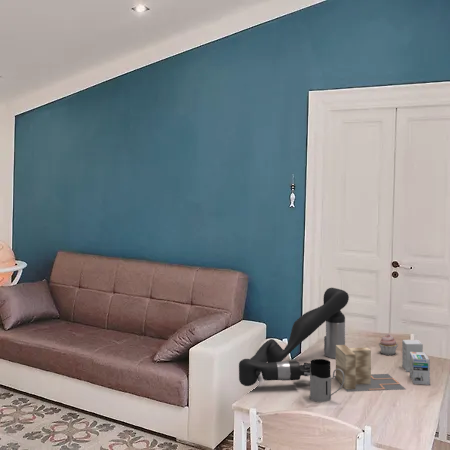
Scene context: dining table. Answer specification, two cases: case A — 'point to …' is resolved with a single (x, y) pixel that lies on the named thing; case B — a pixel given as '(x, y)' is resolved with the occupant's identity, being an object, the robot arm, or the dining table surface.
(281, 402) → the dining table surface
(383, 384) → the charcoal board
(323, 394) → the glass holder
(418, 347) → the supplement box
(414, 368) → the light bulb box
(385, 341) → the cupcake
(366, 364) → the maple T block
